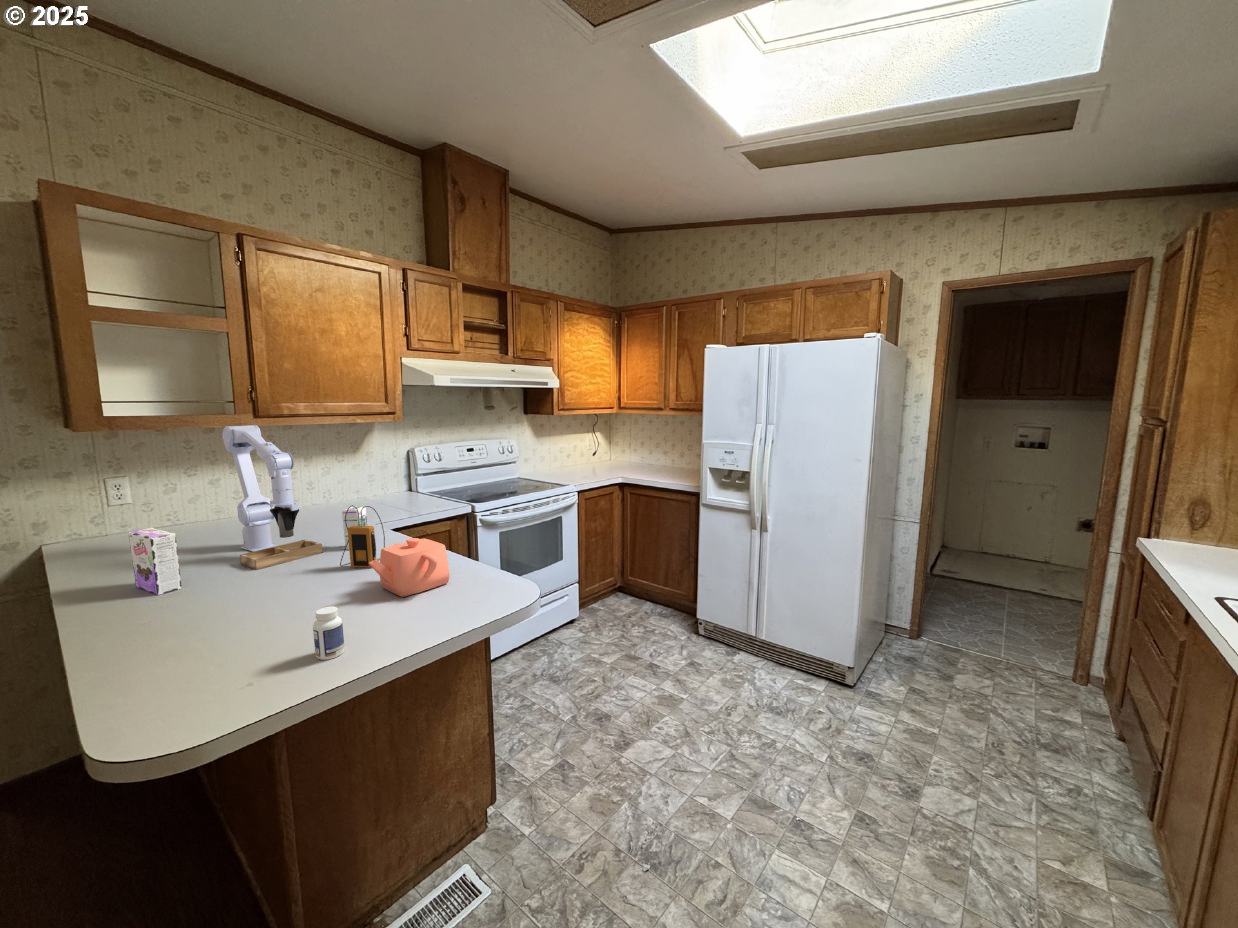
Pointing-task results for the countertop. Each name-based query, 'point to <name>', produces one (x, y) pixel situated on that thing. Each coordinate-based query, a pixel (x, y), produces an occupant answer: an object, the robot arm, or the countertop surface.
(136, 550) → the candy box
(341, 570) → the countertop surface
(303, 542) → the cell tray
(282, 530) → the battery cell
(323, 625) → the pill bottle
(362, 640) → the countertop surface
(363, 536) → the multimeter
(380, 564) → the teapot
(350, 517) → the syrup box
